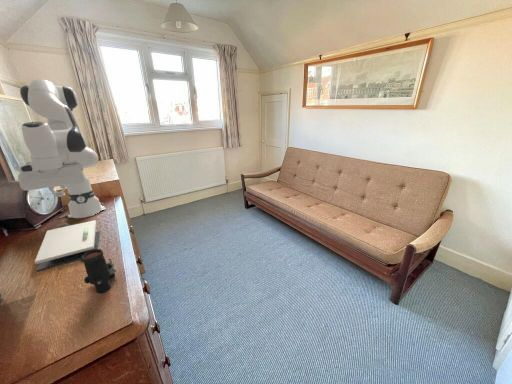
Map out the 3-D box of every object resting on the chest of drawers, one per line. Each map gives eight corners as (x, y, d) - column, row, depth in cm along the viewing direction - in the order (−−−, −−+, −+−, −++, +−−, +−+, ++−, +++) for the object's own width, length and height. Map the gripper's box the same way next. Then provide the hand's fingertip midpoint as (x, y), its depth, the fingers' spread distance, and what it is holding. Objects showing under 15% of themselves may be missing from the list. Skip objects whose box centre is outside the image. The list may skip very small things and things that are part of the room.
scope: (107, 241, 74) (107, 255, 66) (117, 273, 79) (118, 290, 71) (78, 249, 70) (74, 265, 62) (90, 282, 75) (88, 302, 67)
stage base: (51, 244, 99) (48, 236, 98) (100, 232, 109) (98, 224, 107) (36, 272, 81) (32, 263, 79) (97, 255, 90) (94, 246, 89)
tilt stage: (48, 232, 97) (45, 227, 96) (96, 222, 106) (94, 217, 105) (35, 264, 80) (32, 258, 79) (93, 248, 89) (92, 243, 88)
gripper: (82, 159, 94) (91, 189, 98) (17, 166, 84) (30, 198, 89) (79, 161, 89) (89, 193, 93) (10, 169, 79) (25, 203, 83)
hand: (60, 196), depth 91 cm, fingers closed
